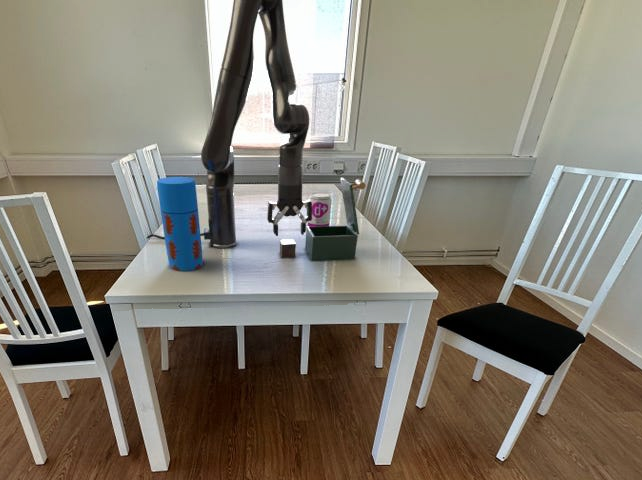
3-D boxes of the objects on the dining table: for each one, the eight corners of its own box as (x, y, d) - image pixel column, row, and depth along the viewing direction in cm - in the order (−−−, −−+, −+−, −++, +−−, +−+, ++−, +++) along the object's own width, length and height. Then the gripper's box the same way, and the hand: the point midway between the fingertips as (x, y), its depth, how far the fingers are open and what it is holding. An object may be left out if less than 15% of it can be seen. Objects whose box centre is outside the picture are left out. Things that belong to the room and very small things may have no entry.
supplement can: (327, 240, 147) (331, 197, 138) (305, 238, 148) (307, 196, 140) (329, 233, 153) (332, 192, 145) (308, 232, 155) (310, 191, 146)
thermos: (187, 273, 120) (176, 185, 105) (161, 266, 124) (148, 181, 110) (210, 262, 127) (202, 179, 113) (185, 256, 132) (175, 175, 118)
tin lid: (349, 185, 117) (367, 179, 117) (339, 177, 127) (356, 172, 126) (356, 234, 126) (373, 229, 126) (347, 224, 136) (362, 219, 135)
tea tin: (311, 260, 129) (313, 237, 125) (305, 248, 139) (306, 226, 134) (354, 259, 131) (357, 235, 126) (345, 247, 140) (348, 225, 136)
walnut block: (281, 257, 131) (281, 244, 129) (279, 253, 135) (280, 239, 132) (295, 257, 132) (295, 243, 129) (293, 252, 136) (293, 239, 133)
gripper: (310, 178, 124) (308, 230, 134) (265, 180, 123) (266, 232, 132) (315, 183, 118) (312, 237, 127) (268, 184, 117) (269, 239, 126)
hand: (289, 234), depth 130 cm, fingers open, 8 cm apart
